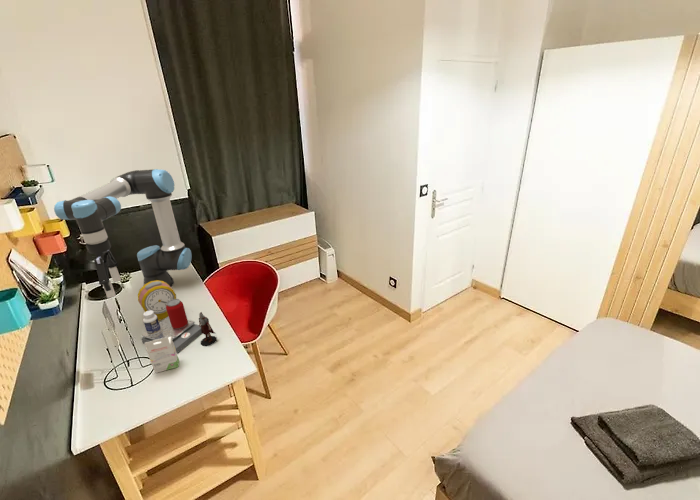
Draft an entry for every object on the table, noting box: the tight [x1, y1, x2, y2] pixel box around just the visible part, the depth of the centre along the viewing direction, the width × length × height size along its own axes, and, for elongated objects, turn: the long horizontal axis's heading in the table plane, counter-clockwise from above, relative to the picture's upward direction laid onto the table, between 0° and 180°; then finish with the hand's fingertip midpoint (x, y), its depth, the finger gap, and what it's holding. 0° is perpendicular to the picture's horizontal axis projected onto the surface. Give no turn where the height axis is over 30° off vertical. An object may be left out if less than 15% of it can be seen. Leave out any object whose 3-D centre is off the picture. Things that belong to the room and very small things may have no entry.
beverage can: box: [166, 298, 189, 328], centre depth 155 cm, size 7×7×12 cm
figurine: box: [198, 311, 217, 347], centre depth 150 cm, size 7×7×15 cm
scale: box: [140, 323, 203, 354], centre depth 156 cm, size 16×20×3 cm
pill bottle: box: [142, 310, 161, 335], centre depth 152 cm, size 5×5×10 cm
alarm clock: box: [137, 280, 177, 322], centre depth 169 cm, size 15×8×18 cm, turn 131°
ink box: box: [144, 337, 180, 374], centre depth 137 cm, size 9×5×15 cm, turn 110°
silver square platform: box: [141, 316, 195, 340], centre depth 156 cm, size 15×15×2 cm
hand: (114, 288), depth 144 cm, fingers open, 13 cm apart
